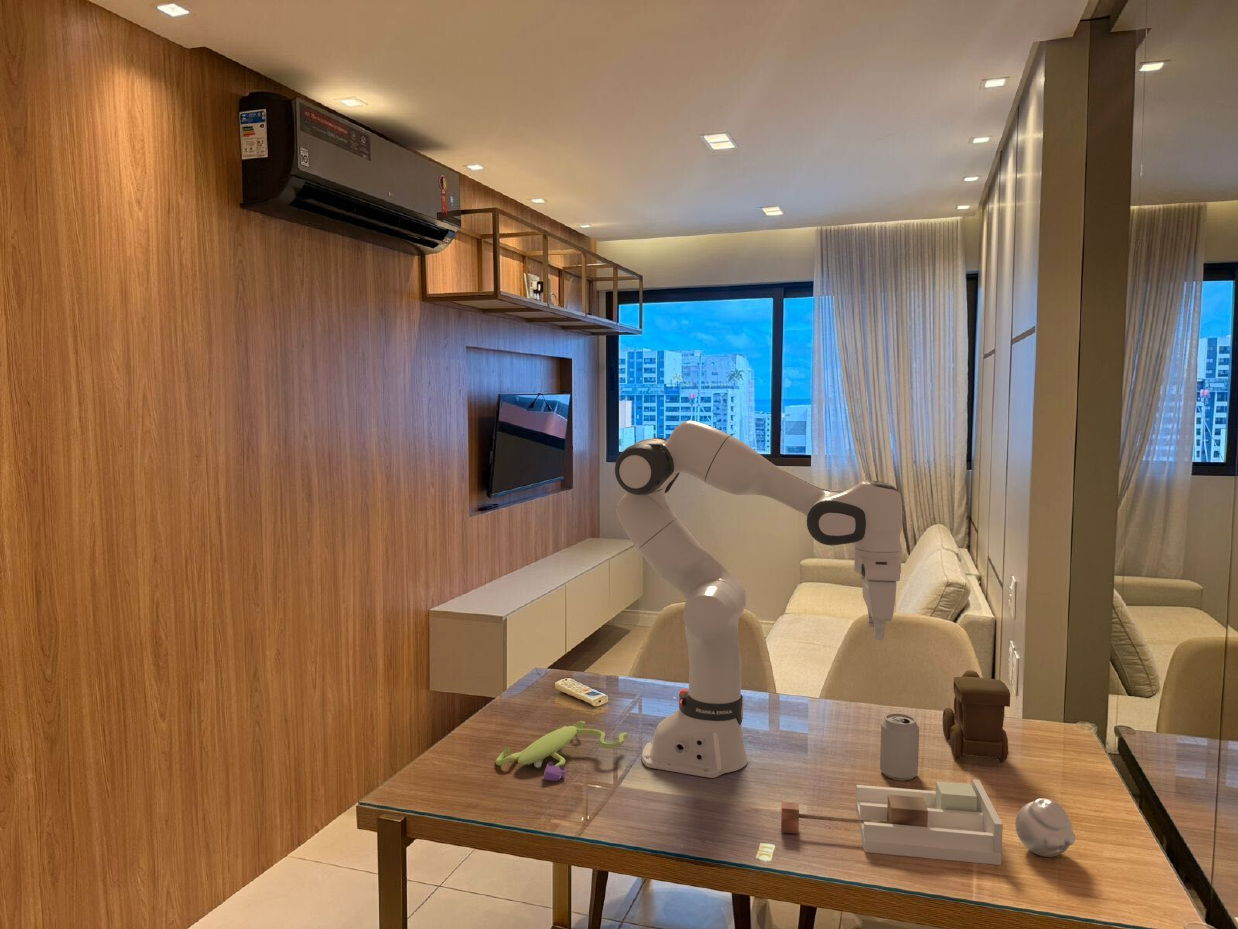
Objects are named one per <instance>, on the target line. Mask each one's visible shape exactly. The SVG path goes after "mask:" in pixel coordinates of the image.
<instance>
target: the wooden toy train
mask: <svg viewBox="0 0 1238 929" xmlns="http://www.w3.org/2000/svg"><path fill="white" fill-rule="evenodd" d="M953 693H954V699H953V709H952V708H951V707H946V708H945V709H944V710H943V711H942V732H943V737H945V739H946V740H949V742H950V743H949V744H950V751H951V755H952V756H953V757H954V758H956V759H960V758H962V756H970V757H981V758H993V759H996V760H997V761H998V762H1000V763H1002V762H1005V761H1007V759H1008V756H1009V739H1008V735H1007V731H1006V730H1005V729H1004V723H1005V722H1004V721H1005V707H1007V708H1010V707H1011V692H1010V689H1009V688H1008V686H1007V684H1006V683H1004V682H1003V681H1002V680H1000V679H995V678H989V677H988V678H987V677H980V675H979V673H978V672H977V671H975V670H966V671H964V673H963V674H962V675H961V676H953Z"/></svg>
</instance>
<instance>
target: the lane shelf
mask: <svg viewBox="0 0 1238 929" xmlns="http://www.w3.org/2000/svg"><path fill="white" fill-rule="evenodd" d="M971 781H972V782H971V783H972V784H971V786H972V788H973V790H974V792H975V794H976V796H977V807H976V812H968V811H956V810H944V809H936V808H935V803H936V790H927V789H926V790H925V789H924V790H923V789H911V788H902V787H901V788H899V787H891V786H889V787H888V786H877V785H876V786H874V785H863V784H856V785H855V786H856V788H855V789H856V790H855V791H856V792H855V810H856V815H857V819H866V820H877V821H887V805H888V795H898V796H910V797H922V798H923V799H924V801H925V804H926V807H927V810H928V825H927V827H919V826H908V825H897V824H885V823H874V822H864V824H863V823H858V825H859V826H858V827H859V830H860V831H859V832H860V836H861V841H862V847H863V852H864V853H870V854H879V855H880V854H881V855H892V856H902V857H910V858H911V857H913V858H923V859H924V858H925V859H932V860H933V859H934V860H942V861H943V860H944V861H954V862H955V861H957V862H966V863H975V864H986V865H997V866H1002V856H1003V853H1002V852H1003V826H1004V825H1003V823H1002V820H1001V818H1000V816H999V815H998V813H997V811H996V809H995V807H994V805H993V803H992V801H991V800H990V798H989V796H988V794H987V792H986V790H985V788H984V786H983V785H982V782H981V779H975V778H974V779H973V778H972V779H971Z"/></svg>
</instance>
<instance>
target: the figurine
mask: <svg viewBox="0 0 1238 929" xmlns="http://www.w3.org/2000/svg"><path fill="white" fill-rule="evenodd" d="M585 726H586V721H583V720H579V721H577V722H575V723H574V724H573V725H570V726H566V725H563V726H562V727H561V728H558V729H555V730H553V731H551V732H548V733H547V734H545V735H542V736H541V737H540V738H538V739H536V740H535V741H533V742H532V743H531V744H530V745H528V746H527V747H525V748H524V749H523V750H521V751H519V752H518V751H517V752H515V753H512V754H510V755H508V754H509V753H510V751H511V749H510V748H511V747H509V746H506V747H505V748H504V749H503V751H501V752H500V754H499V755H498V756H497V757H496V759H495V764H496V765H497V766H504V765H506V764H508V763H511V761H514V760H515V759H517V763H518V764H520V765H528V766H530V765H532V764H533V765H534V767H535V768H537V769H540V768H541V767H542V765H543V764H544V759H545V758H547V757H550V756H551V757H552V758H553V759H555V760H557V761H559V762H558V763H555V765H554V761H548V763H547V764H546V766H545V769H544V770H543V771H544V772H543V780H546V781H550V782H551V781H560V779H564V778H565V776H566V774H567V770H568V769H567V768H565V764H566V759H565V758H564V757H563V756H562V755H560V753H559V752H558V751H559V750H562V748H564V747H565V746H566V745H568V744H569V743H570V742H571V741H572V740H573V739H574V738H575V736H578V735H594V736H597V737H599V741H598V743H599V746H600V747H601V748H604V749H605V748H606V749H610V748H615V747H617V748H618V747H620V746H622V745H623V744H624V742H625V739H626V738H628V733H627V732H620V733H619V734H618V737H617V738H618V739H617V740H618V742H606V741H605V740H606V739H605V738H606V733H605V732H604V731H601V730H599V729H594V728H585Z"/></svg>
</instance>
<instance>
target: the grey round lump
mask: <svg viewBox="0 0 1238 929" xmlns="http://www.w3.org/2000/svg"><path fill="white" fill-rule="evenodd" d="M1014 824H1015V831H1016V834H1017V837H1018V839H1019V841H1020V842H1021V844H1023V846H1024V847H1025V848H1027V849H1028V850H1029V851H1030V852H1032V853H1033V854H1035V855H1038V856H1039V857H1040V856H1041V857H1045V858H1047V857H1048V858H1053V857H1057V856H1060V855H1062V854H1063V853H1065V852H1066V851H1067V850H1068V849H1069V848H1070V846H1072V845H1074V844H1075V842H1076V834H1075V832H1074V829H1073V825H1072V822H1071V820H1070V818H1069V814H1067V812H1066V811H1065V809H1064V808H1063V806H1062V805H1061V804H1059V802H1057V801H1055V800H1053V799H1050V798H1044V797H1043V798H1037V799H1036V800H1033V801H1030V802H1028V803H1025V804H1024V805H1023V806H1022V807H1020V809H1019V810H1018V812H1017V814H1016V818H1015V823H1014Z"/></svg>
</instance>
